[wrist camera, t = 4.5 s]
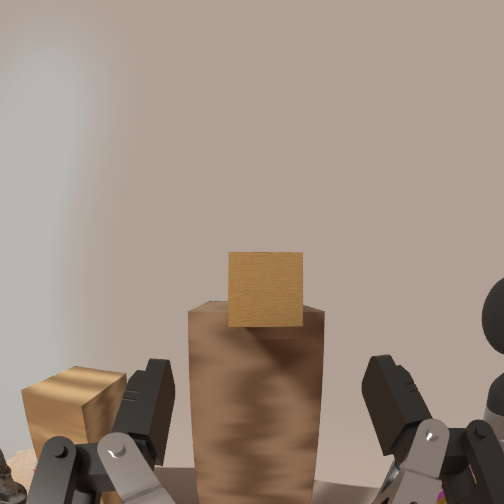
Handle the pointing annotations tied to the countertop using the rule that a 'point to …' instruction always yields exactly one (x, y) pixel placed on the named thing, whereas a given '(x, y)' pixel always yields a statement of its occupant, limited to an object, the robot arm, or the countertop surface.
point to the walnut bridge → (254, 407)
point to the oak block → (75, 409)
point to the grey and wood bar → (265, 289)
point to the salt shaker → (10, 486)
